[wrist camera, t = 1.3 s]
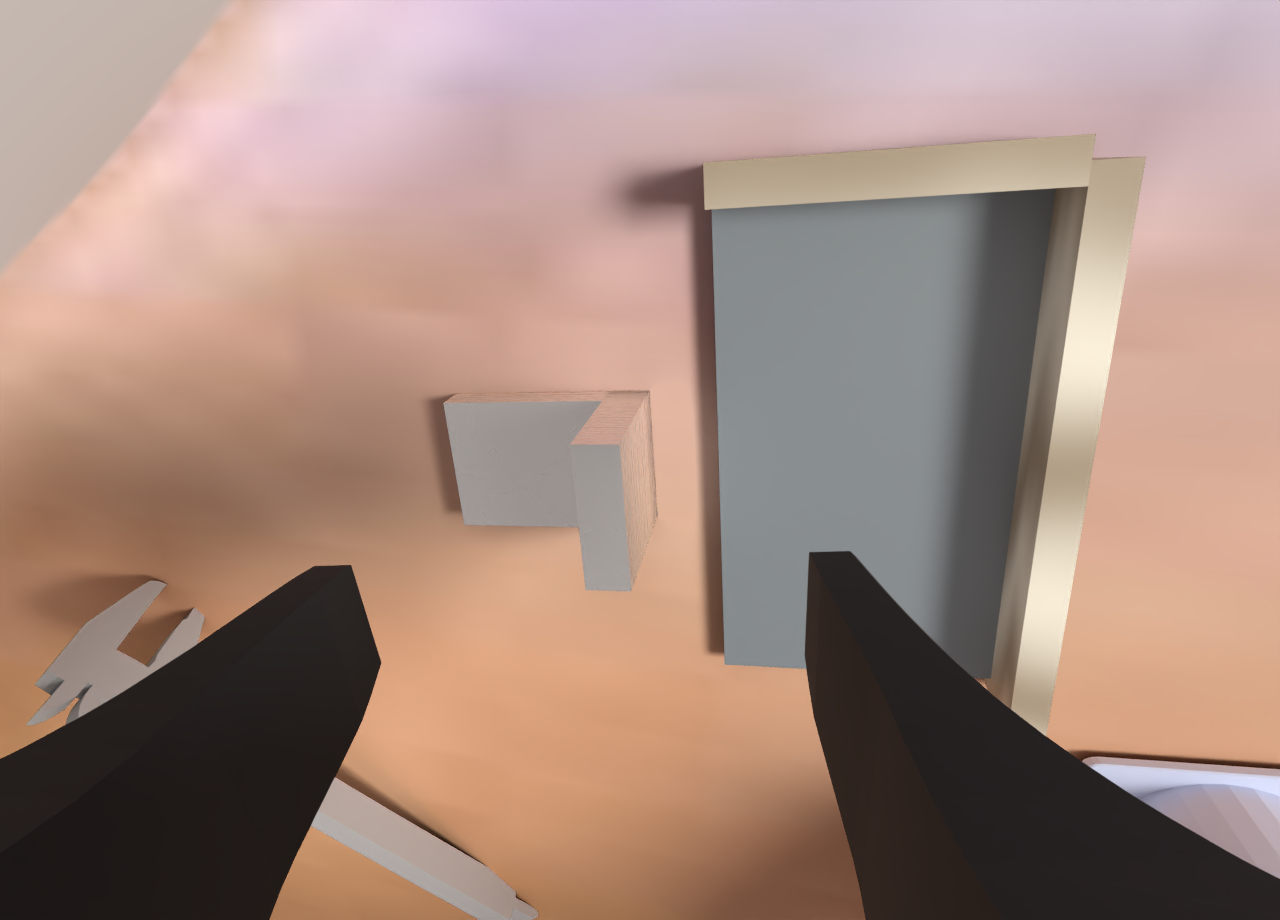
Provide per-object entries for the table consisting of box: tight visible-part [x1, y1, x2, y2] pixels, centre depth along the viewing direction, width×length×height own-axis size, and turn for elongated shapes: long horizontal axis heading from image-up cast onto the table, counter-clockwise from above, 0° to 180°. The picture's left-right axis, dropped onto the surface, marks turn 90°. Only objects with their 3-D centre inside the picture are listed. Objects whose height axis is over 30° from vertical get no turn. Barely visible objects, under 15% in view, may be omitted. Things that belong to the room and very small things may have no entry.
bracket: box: [443, 391, 658, 591], centre depth 20 cm, size 6×4×4 cm, turn 94°
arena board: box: [712, 188, 1056, 679], centre depth 20 cm, size 14×8×1 cm, turn 4°
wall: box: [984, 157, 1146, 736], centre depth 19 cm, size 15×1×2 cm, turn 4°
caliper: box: [26, 581, 538, 920], centre depth 26 cm, size 20×1×6 cm, turn 43°
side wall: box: [703, 134, 1096, 210], centre depth 17 cm, size 1×8×2 cm, turn 94°
